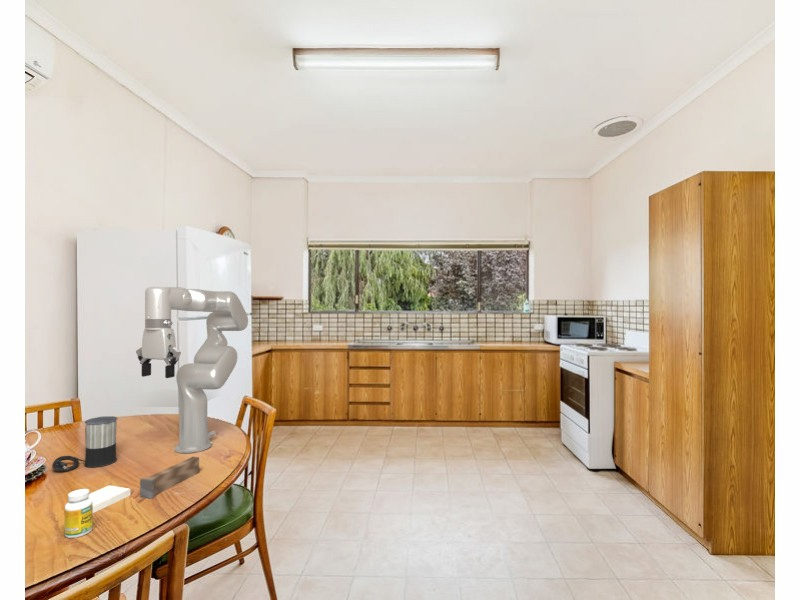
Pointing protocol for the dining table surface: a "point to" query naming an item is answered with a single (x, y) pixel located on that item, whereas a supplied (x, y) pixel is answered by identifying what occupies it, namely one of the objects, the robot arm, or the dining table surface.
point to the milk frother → (95, 445)
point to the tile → (108, 496)
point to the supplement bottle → (78, 514)
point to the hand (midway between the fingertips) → (158, 376)
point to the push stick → (168, 477)
